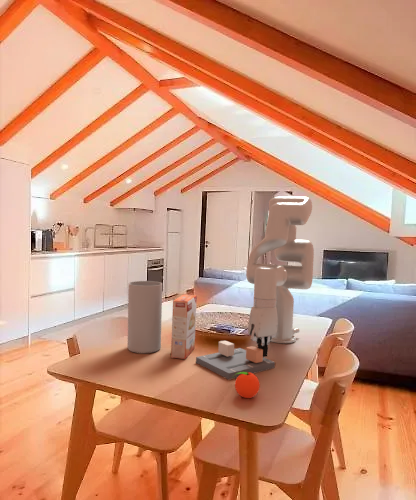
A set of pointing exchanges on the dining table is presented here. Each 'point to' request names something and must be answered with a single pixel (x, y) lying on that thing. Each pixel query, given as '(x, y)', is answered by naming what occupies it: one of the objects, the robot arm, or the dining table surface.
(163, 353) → the dining table surface
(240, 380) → the clementine
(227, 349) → the ivory fader
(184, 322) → the cracker box
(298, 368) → the dining table surface
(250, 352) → the terracotta fader
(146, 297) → the cylinder vase
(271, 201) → the robot arm
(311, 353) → the dining table surface
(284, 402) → the dining table surface
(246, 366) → the fader panel
